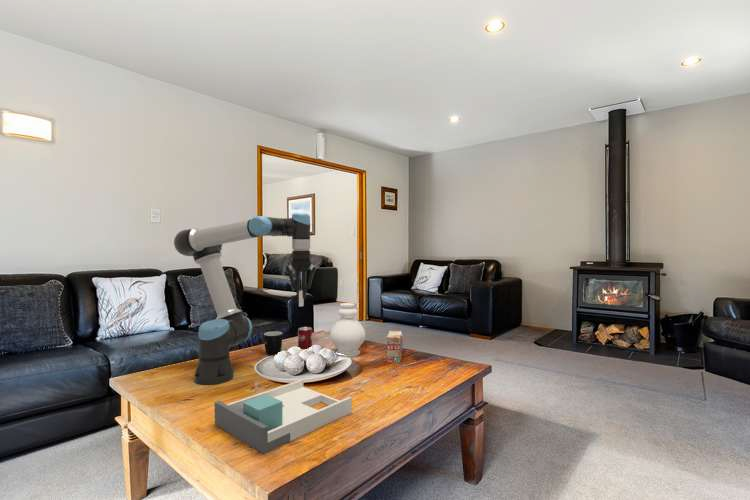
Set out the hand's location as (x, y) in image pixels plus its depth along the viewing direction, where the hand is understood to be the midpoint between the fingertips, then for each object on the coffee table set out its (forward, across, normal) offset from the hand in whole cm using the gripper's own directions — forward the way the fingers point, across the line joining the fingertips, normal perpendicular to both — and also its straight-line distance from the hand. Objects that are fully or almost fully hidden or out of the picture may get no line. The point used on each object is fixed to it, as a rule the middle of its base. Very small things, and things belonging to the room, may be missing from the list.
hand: (301, 305), depth 168 cm
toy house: (+30, -41, -28) cm, 58 cm away
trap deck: (+29, -3, +41) cm, 51 cm away
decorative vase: (+30, -17, -33) cm, 47 cm away
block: (+27, +1, +51) cm, 58 cm away
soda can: (+30, +5, -35) cm, 46 cm away
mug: (+30, +20, -30) cm, 47 cm away
